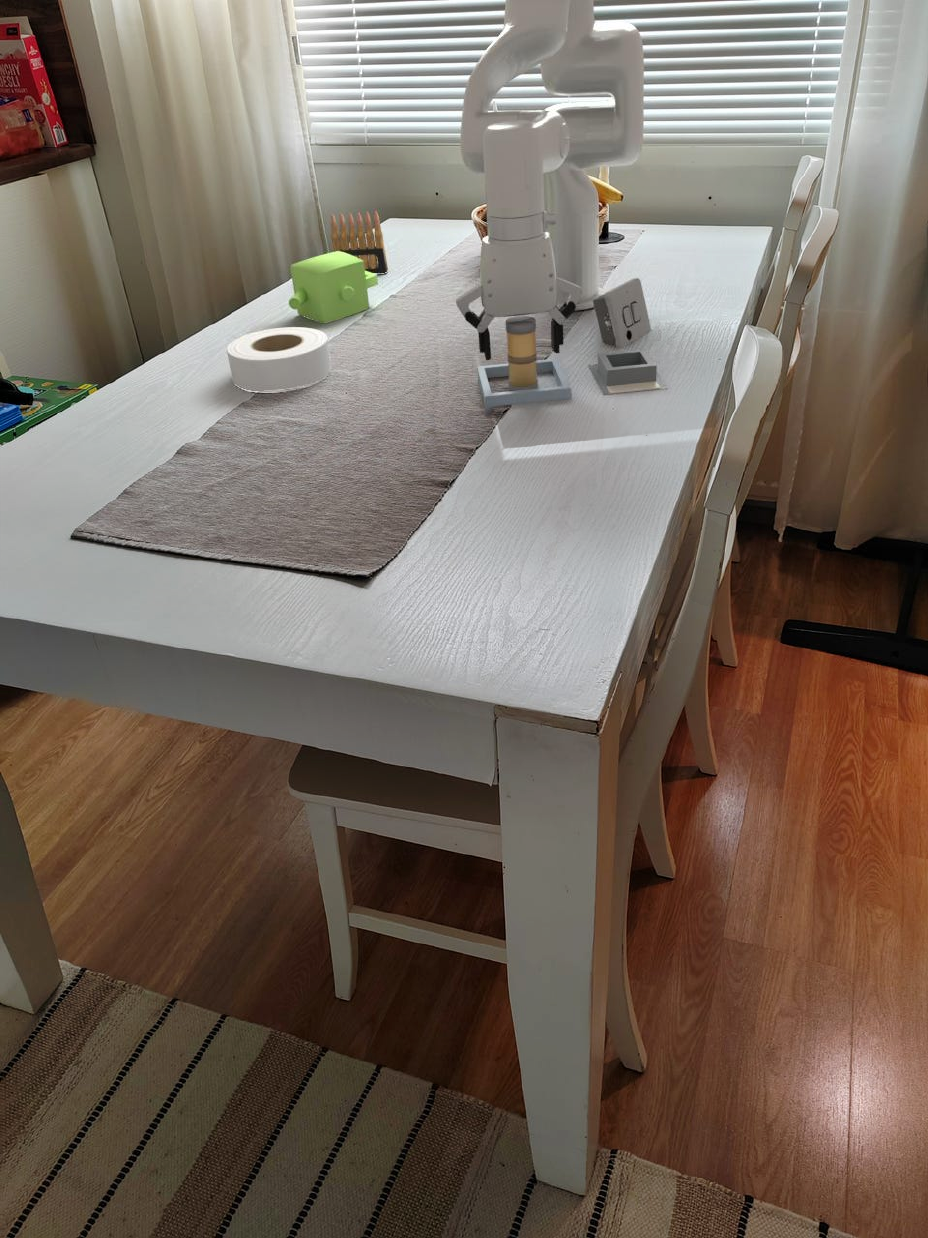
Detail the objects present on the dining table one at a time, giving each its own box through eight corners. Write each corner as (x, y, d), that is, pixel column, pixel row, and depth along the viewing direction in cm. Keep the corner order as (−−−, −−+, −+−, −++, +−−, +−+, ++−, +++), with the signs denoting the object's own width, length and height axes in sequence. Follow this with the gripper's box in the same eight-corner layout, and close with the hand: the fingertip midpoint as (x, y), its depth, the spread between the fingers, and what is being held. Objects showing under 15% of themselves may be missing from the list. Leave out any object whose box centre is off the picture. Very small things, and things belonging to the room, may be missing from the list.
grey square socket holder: (587, 371, 147) (587, 348, 145) (647, 365, 148) (648, 342, 146) (603, 401, 137) (603, 377, 135) (667, 395, 138) (668, 370, 136)
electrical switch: (622, 354, 152) (618, 293, 148) (593, 352, 155) (589, 292, 151) (652, 336, 158) (649, 277, 153) (624, 334, 161) (621, 276, 157)
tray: (478, 382, 147) (477, 366, 146) (558, 374, 147) (557, 358, 146) (486, 413, 137) (484, 396, 136) (571, 404, 137) (571, 387, 136)
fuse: (507, 385, 143) (503, 317, 138) (535, 382, 144) (533, 314, 138) (510, 396, 140) (507, 326, 134) (539, 393, 140) (537, 323, 134)
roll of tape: (281, 353, 165) (275, 320, 162) (352, 367, 157) (347, 332, 154) (212, 385, 155) (204, 350, 152) (284, 401, 147) (277, 365, 144)
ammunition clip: (388, 271, 202) (381, 209, 195) (386, 273, 201) (379, 211, 194) (337, 274, 203) (328, 212, 197) (335, 276, 202) (326, 215, 195)
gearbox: (306, 335, 173) (298, 281, 168) (277, 322, 180) (267, 269, 174) (388, 307, 182) (382, 255, 176) (357, 295, 188) (351, 245, 183)
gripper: (576, 213, 132) (577, 338, 142) (448, 226, 132) (458, 350, 142) (586, 226, 126) (587, 356, 136) (452, 239, 126) (462, 368, 136)
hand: (521, 353), depth 139 cm, fingers open, 9 cm apart
